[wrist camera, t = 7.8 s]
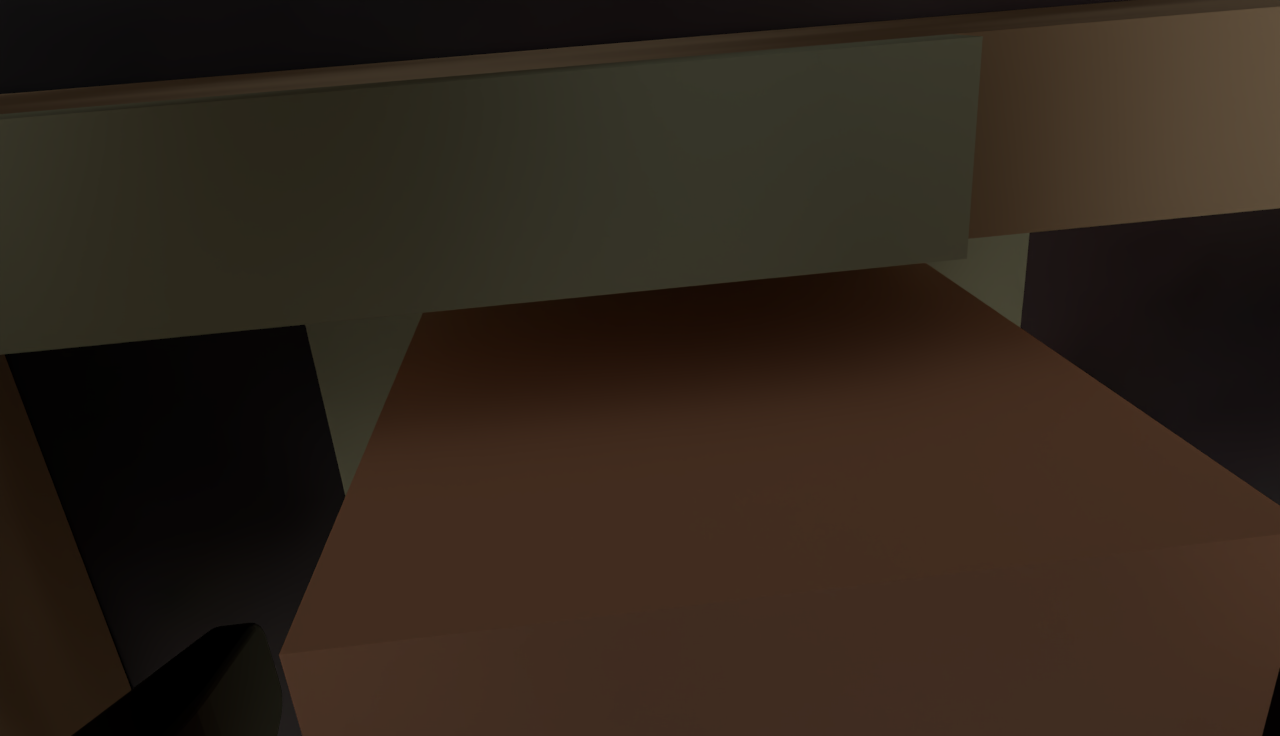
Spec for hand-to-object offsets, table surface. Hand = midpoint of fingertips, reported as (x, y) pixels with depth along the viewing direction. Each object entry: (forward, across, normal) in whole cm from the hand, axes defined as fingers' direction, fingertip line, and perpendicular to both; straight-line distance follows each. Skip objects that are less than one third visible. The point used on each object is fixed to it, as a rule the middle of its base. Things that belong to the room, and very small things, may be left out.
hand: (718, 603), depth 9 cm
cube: (+2, 0, 0) cm, 2 cm away
